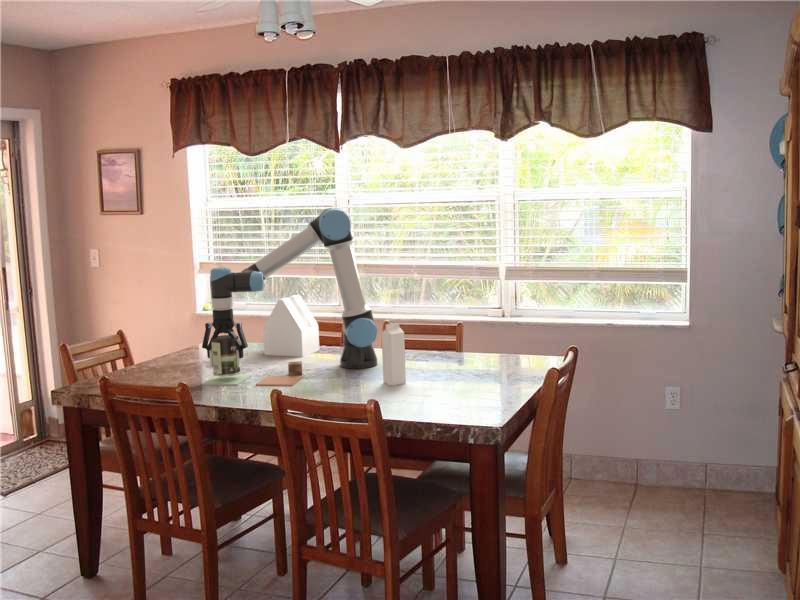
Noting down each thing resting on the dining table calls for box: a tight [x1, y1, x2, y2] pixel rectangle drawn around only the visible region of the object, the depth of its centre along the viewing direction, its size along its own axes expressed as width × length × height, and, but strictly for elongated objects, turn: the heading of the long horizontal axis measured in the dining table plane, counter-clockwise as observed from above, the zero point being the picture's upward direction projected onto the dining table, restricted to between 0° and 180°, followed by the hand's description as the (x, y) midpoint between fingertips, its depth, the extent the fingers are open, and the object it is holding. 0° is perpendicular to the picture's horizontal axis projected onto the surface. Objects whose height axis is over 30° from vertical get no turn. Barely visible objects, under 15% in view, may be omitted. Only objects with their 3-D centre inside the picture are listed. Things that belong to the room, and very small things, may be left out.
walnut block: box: [287, 360, 303, 376], centre depth 304 cm, size 5×5×5 cm
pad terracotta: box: [255, 374, 304, 387], centre depth 295 cm, size 14×14×1 cm
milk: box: [381, 322, 407, 386], centre depth 285 cm, size 6×6×22 cm
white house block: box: [262, 294, 320, 358], centre depth 348 cm, size 19×15×25 cm
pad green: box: [201, 374, 252, 386], centre depth 298 cm, size 14×14×1 cm
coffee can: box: [210, 334, 241, 377], centre depth 297 cm, size 10×10×14 cm
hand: (226, 366), depth 298 cm, fingers closed on coffee can, 10 cm apart
